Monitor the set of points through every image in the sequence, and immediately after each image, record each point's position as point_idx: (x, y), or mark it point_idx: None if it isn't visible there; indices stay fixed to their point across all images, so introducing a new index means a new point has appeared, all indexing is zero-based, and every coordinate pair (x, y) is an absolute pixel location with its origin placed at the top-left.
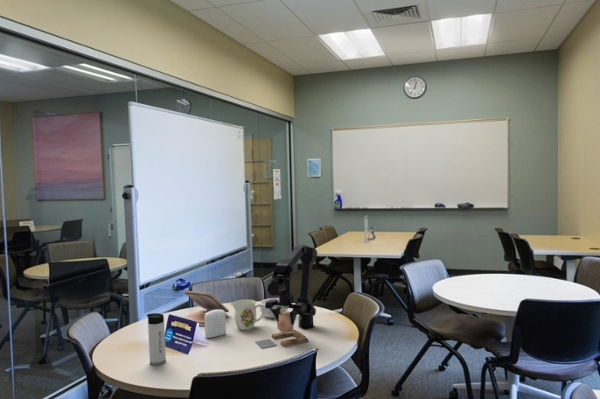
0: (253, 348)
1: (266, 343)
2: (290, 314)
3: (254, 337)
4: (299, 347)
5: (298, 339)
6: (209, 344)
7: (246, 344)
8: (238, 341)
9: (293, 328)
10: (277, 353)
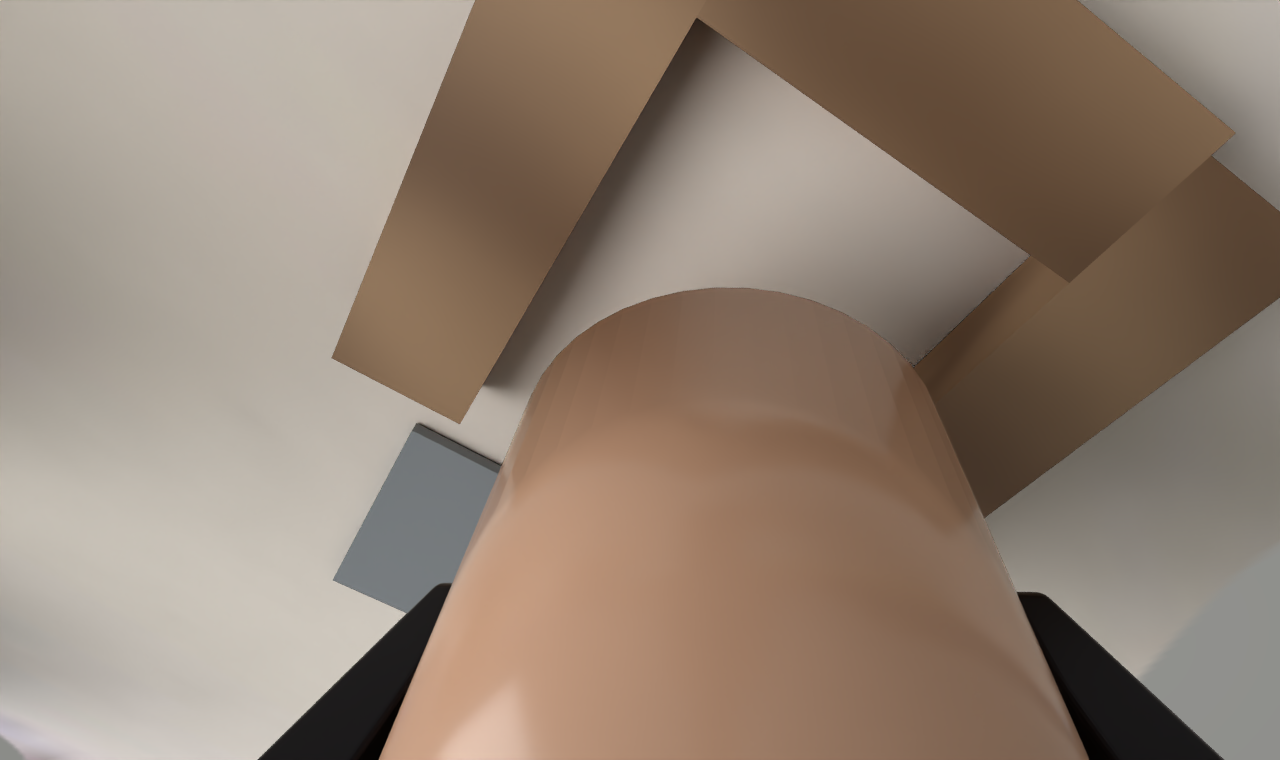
0: None
1: None
2: None
3: (141, 437)
4: (1131, 516)
5: (1074, 395)
6: (27, 729)
7: (315, 643)
8: (143, 607)
9: (939, 416)
10: None
